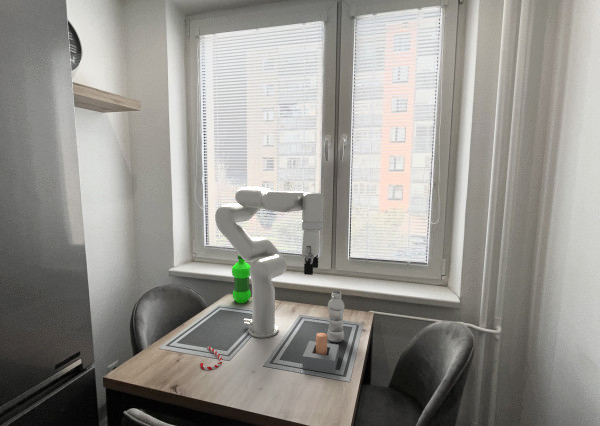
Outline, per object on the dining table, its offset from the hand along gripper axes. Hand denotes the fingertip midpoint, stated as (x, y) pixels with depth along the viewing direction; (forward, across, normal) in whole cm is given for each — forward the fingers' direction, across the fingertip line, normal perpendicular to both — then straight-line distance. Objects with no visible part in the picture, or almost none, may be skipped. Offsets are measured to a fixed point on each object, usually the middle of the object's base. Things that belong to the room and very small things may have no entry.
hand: (311, 270), depth 122 cm
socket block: (+30, +9, +6) cm, 32 cm away
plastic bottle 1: (+31, -37, -45) cm, 66 cm away
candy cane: (+31, +17, -33) cm, 48 cm away
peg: (+30, +9, +6) cm, 32 cm away
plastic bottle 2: (+30, -8, +9) cm, 33 cm away
